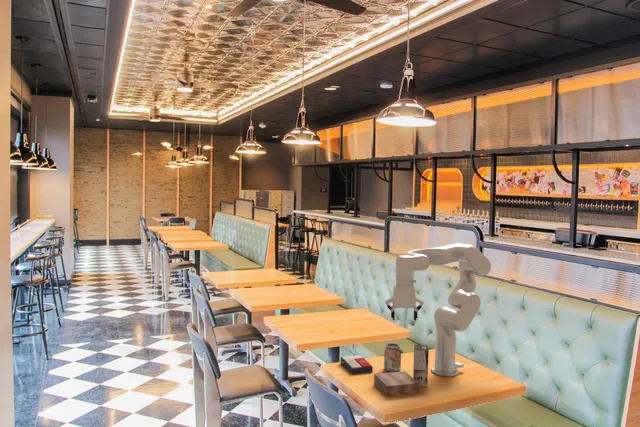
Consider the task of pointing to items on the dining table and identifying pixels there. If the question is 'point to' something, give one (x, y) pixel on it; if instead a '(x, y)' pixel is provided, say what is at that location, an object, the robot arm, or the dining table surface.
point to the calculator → (356, 364)
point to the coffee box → (421, 364)
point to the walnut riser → (396, 383)
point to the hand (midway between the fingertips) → (404, 319)
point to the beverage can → (392, 357)
